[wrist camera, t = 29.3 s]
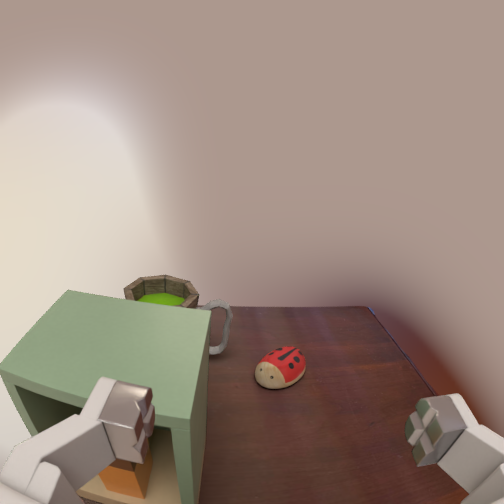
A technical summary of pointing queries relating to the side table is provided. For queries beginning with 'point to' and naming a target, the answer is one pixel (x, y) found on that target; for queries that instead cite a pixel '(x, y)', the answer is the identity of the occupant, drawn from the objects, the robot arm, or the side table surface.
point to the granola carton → (128, 476)
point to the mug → (176, 299)
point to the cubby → (123, 369)
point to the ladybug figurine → (280, 368)
